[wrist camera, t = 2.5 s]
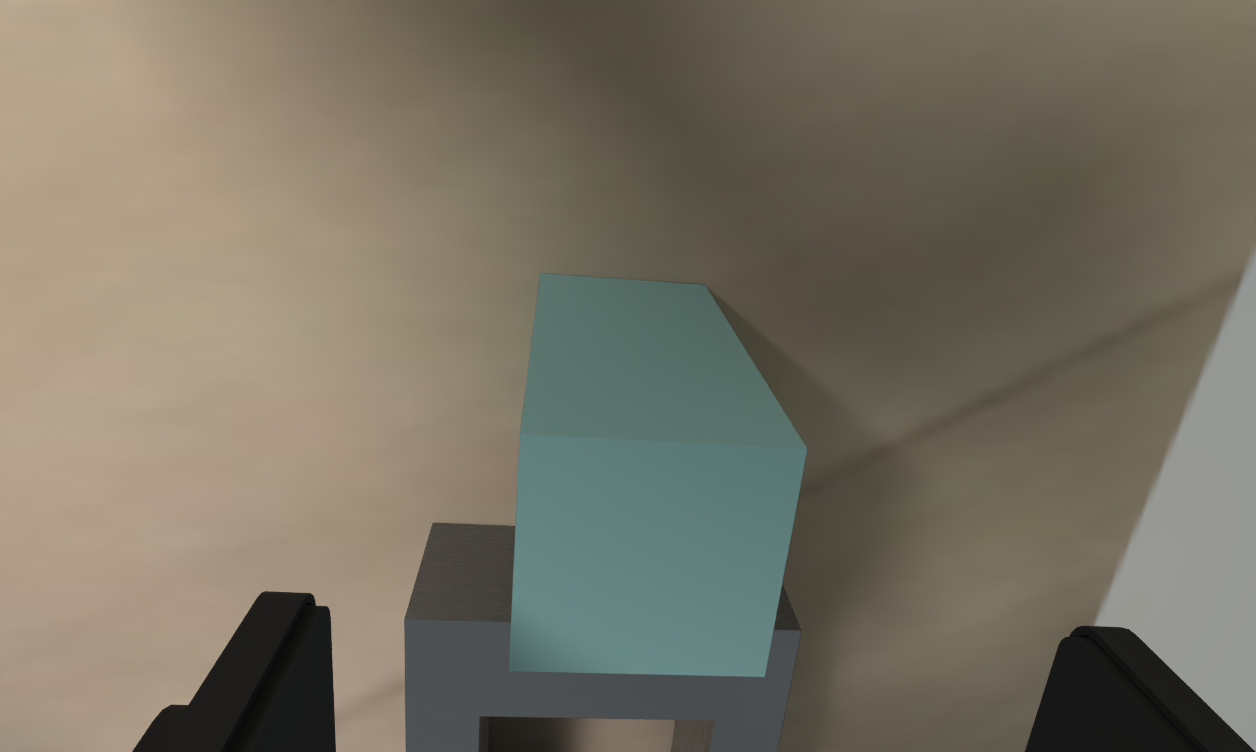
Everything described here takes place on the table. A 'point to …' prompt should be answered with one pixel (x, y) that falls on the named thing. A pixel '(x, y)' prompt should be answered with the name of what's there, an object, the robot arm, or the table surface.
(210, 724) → the robot arm
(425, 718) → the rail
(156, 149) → the table surface
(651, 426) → the peg
